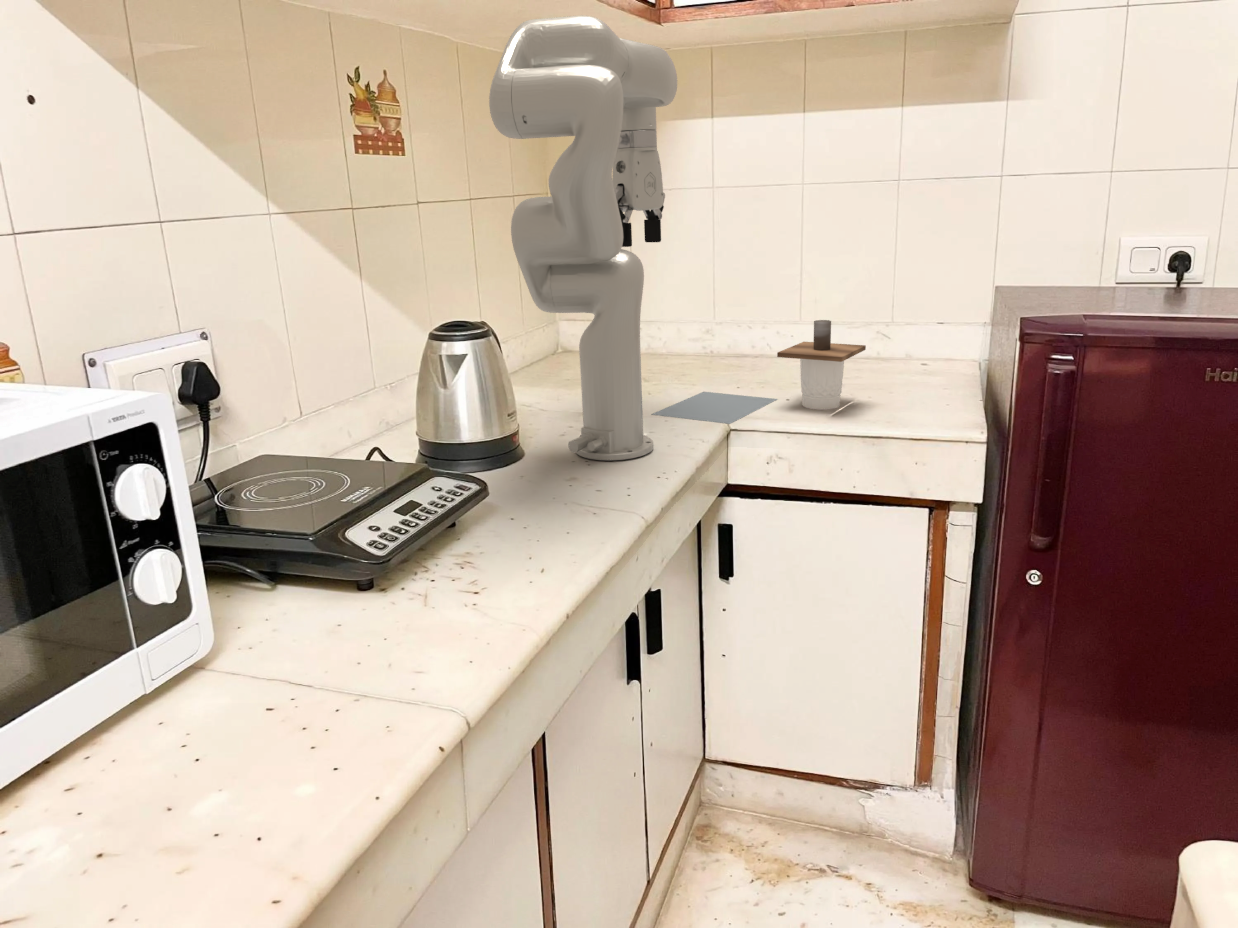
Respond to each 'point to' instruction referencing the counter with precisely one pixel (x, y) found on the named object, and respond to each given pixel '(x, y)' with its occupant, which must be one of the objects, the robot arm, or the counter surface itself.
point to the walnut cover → (822, 346)
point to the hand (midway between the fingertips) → (638, 244)
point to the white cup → (821, 383)
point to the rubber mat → (715, 407)
